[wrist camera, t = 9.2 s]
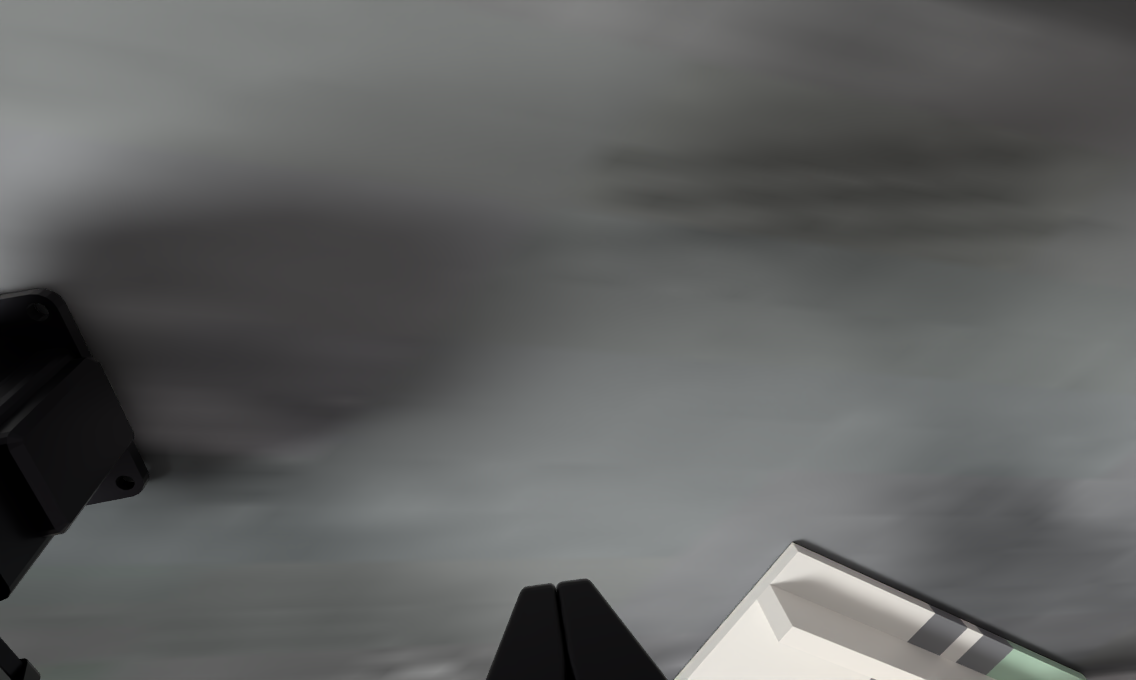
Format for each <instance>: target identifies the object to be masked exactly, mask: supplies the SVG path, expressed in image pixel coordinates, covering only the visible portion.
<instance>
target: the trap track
mask: <svg viewBox="0 0 1136 680" xmlns="http://www.w3.org/2000/svg"><path fill="white" fill-rule="evenodd" d="M674 680H1087V679H1086V678H1085V677H1084V675H1083V674H1081V673H1079V672H1077V671H1075V670H1072V669H1070V668H1068V667H1066V666H1063V665H1061V664H1059V663H1057V662H1055V661H1052V660H1050V659H1048V658H1046V657H1044V656H1041V655H1039V654H1037V653H1035V652H1033V651H1030V650H1028V649H1026V648H1024V647H1022V646H1019V645H1017V644H1015V643H1013V642H1011V641H1008V640H1006V639H1004V638H1002V637H1000V636H997V635H995V634H993V633H991V632H989V631H986V630H984V629H982V628H980V627H978V626H975V625H973V624H971V623H969V622H967V621H964V620H962V619H960V618H958V617H956V616H953V615H951V614H949V613H947V612H945V611H942V610H940V609H938V608H936V607H934V606H931V605H929V604H927V603H925V602H923V601H920V600H918V599H916V598H914V597H912V596H909V595H907V594H905V593H903V592H901V591H898V590H896V589H894V588H892V587H890V586H887V585H885V584H883V583H881V582H879V581H876V580H874V579H872V578H870V577H868V576H865V575H863V574H861V573H859V572H857V571H854V570H852V569H850V568H848V567H846V566H843V565H841V564H839V563H837V562H835V561H832V560H830V559H828V558H826V557H824V556H821V555H819V554H817V553H815V552H813V551H810V550H808V549H806V548H804V547H801V546H799V545H797V544H795V543H793V542H792V543H791V545H790V546H789V547H788V548H787V549H786V550H785V551H784V553H783V554H782V555H781V556H780V557H779V558H778V560H777V561H776V562H775V563H774V564H773V565H772V567H771V568H770V569H769V570H768V571H767V572H766V574H765V575H764V576H763V577H762V578H761V579H760V580H759V582H758V583H757V584H756V585H755V586H754V587H753V589H752V590H751V591H750V592H749V593H748V594H747V596H746V597H745V598H744V599H743V600H742V601H741V602H740V604H739V605H738V606H737V607H736V608H735V609H734V611H733V612H732V613H731V614H730V615H729V616H728V618H727V619H726V620H725V621H724V622H723V623H722V625H721V626H720V627H719V628H718V629H717V630H716V631H715V633H714V634H713V635H712V636H711V637H710V638H709V640H708V641H707V642H706V643H705V644H704V645H703V647H702V648H701V649H700V650H699V651H698V652H697V654H696V655H695V656H694V657H693V658H692V659H691V660H690V662H689V663H688V664H687V665H686V666H685V667H684V669H683V670H682V671H681V672H680V673H679V674H678V676H677V677H676V678H675V679H674Z"/></svg>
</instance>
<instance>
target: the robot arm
mask: <svg viewBox="0 0 1136 680" xmlns="http://www.w3.org/2000/svg"><path fill="white" fill-rule="evenodd" d="M35 303H39V304H41V305H43V306H45V307H46V308H47V309H48V312H49V315H44V314H42V313H40V312H38V310H37V309H36V308H35ZM133 438H134V433H133V431H132V429H131V427H130V425H129V422H128V420H127V418H126V416H125V414H124V412H123V410H122V408H121V406H120V404H119V402H118V400H117V398H116V396H115V394H114V392H113V390H112V388H111V385H110V383H109V381H108V379H107V377H106V375H105V373H104V371H103V369H102V367H101V365H100V363H99V362H97V361H96V360H94V359H93V358H92V356H91V354H90V352H89V350H88V348H87V346H86V344H85V342H84V340H83V338H82V336H81V334H80V332H79V330H78V328H77V326H76V324H75V322H74V320H73V317H72V315H71V313H70V311H69V309H68V307H67V305H66V303H65V302H64V300H63V299H62V298H61V296H59V295H58V294H56V293H55V292H53V291H50V290H47V289H33V290H27V291H21V292H16V293H10V294H4V295H0V601H2V600H4V599H6V598H8V597H9V596H10V594H11V593H12V592H13V590H14V589H15V588H16V586H17V585H18V584H19V582H20V581H21V579H22V578H23V577H24V575H25V574H26V573H27V571H28V570H29V569H30V567H31V566H32V565H33V563H34V562H35V561H36V559H37V558H38V557H39V555H40V554H41V553H42V551H43V550H44V549H45V547H46V546H47V545H48V543H49V542H50V541H51V539H52V538H53V537H54V535H58V534H63V533H65V532H66V531H67V530H68V529H69V527H70V526H71V525H72V523H73V522H74V521H75V519H76V518H77V516H78V515H79V514H80V512H81V511H82V510H83V508H84V507H85V506H86V505H91V504H96V503H101V502H106V501H111V500H116V499H121V498H127V497H132V496H134V495H137V494H139V493H140V492H141V491H142V490H143V488H144V487H145V485H146V484H147V482H148V479H149V474H148V471H147V469H146V467H145V464H144V462H143V460H142V458H141V456H140V454H139V452H138V450H137V448H136V446H135V444H134V442H133ZM122 476H128V477H131V478H132V479H133V480H134V482H129V481H126V480H124V478H123V477H122ZM556 591H557V592H556ZM0 680H40V674H39V672H38V671H37V670H36V669H35V668H34V667H33V665H32V664H31V663H30V662H29V661H28V660H27V659H25V658H24V659H19V658H18V657H17V656H16V655H15V654H14V652H13V651H12V650H11V649H10V648H9V647H8V645H7V644H6V643H5V642H4V641H3V640H2V639H1V637H0ZM486 680H668V679H667V678H666V677H665V676H664V674H663V673H662V672H661V670H660V669H659V668H658V667H657V665H656V664H655V663H654V661H653V660H652V659H651V658H650V656H649V655H648V654H647V653H646V651H645V650H644V649H643V647H642V646H641V645H640V644H639V642H638V641H637V640H636V638H635V637H634V636H633V635H632V633H631V632H630V631H629V629H628V628H627V627H626V626H625V624H624V623H623V622H622V620H621V619H620V618H619V617H618V615H617V614H616V613H615V611H614V610H613V609H612V608H611V606H610V605H609V604H608V602H607V601H606V600H605V599H604V597H603V596H602V595H601V593H600V592H599V591H598V590H597V588H596V587H595V586H594V584H593V583H592V582H591V581H590V580H588V579H578V580H570V581H563V582H560V583H558V585H557V587H555V586H554V585H553V584H551V583H548V584H541V585H534V586H527V587H524V588H523V589H522V590H521V592H520V594H519V596H518V599H517V602H516V604H515V607H514V609H513V612H512V614H511V617H510V619H509V622H508V625H507V627H506V630H505V632H504V635H503V637H502V640H501V642H500V645H499V647H498V650H497V653H496V655H495V658H494V660H493V663H492V665H491V668H490V670H489V673H488V676H487V678H486Z"/></svg>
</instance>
